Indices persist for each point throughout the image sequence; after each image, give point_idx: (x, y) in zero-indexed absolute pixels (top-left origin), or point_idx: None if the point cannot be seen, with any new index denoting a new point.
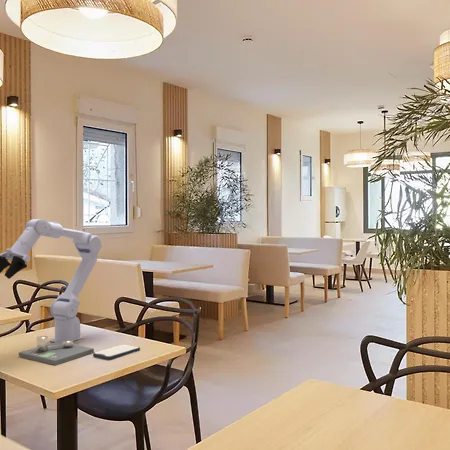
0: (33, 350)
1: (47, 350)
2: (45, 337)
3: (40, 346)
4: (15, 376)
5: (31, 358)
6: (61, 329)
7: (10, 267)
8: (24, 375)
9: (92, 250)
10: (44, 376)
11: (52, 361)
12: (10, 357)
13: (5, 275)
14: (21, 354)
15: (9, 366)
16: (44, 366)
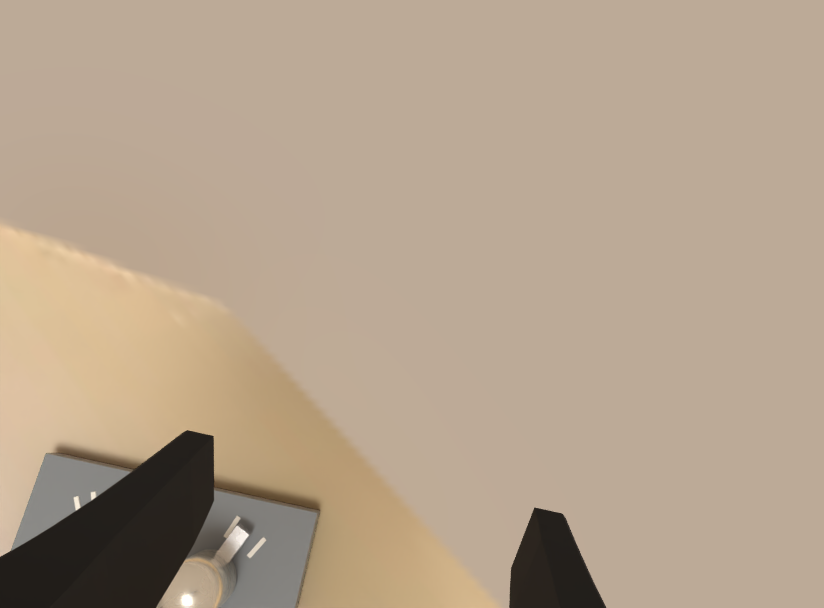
0: (231, 533)
1: None
2: None
3: (191, 556)
4: (143, 276)
5: (223, 489)
6: None
7: (69, 515)
8: (114, 296)
9: None
10: (24, 312)
11: (69, 457)
12: (352, 486)
13: (190, 434)
14: (297, 507)
15: (257, 371)
16: (100, 422)
